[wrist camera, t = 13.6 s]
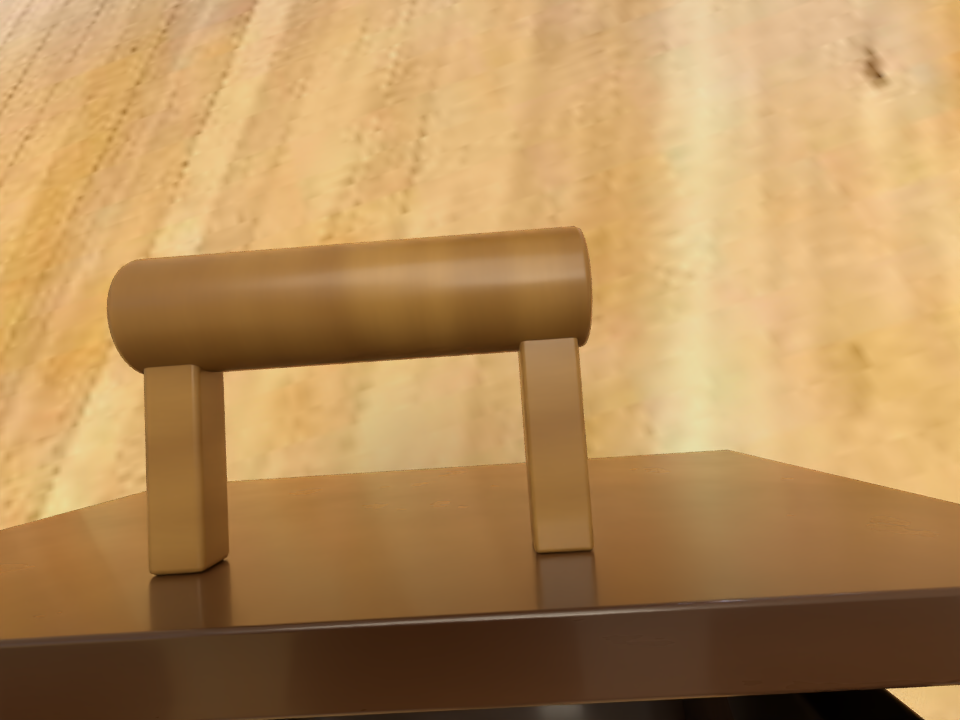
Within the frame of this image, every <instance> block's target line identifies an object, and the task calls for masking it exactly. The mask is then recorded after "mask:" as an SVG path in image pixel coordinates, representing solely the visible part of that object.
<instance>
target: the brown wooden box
mask: <svg viewBox="0 0 960 720" xmlns="http://www.w3.org/2000/svg"><path fill="white" fill-rule="evenodd" d="M267 720H734V718H733V715H732V712H731V709H730V705H729V702H728V699H727V697H708V698H688V699H668V700H648V701H628V702H608V703H588V704H568V705H548V706H528V707H508V708H488V709H468V710H448V711H427V712H407V713H387V714H367V715H347V716H327V717H307V718H287V719H267Z"/></svg>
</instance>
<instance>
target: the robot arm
mask: <svg viewBox="0 0 960 720" xmlns="http://www.w3.org/2000/svg"><path fill="white" fill-rule="evenodd" d="M727 699H728V702H729V705H730V709H731V712H732V715H733V718H734V720H924V719H923V718H922V717H920V716H919V715H918V714H917V713H915V712H914V711H913V710H912V709H910V708H909V707H908V706H907V705H905V704H904V703H903V702H901V701H900V700H899V699H898V698H896V697H895V696H894V695H893V694H891V693H890V692H889V691H888V690H886V689H868V690H848V691H828V692H808V693H788V694H768V695H748V696H728V697H727Z"/></svg>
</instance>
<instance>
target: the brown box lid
mask: <svg viewBox="0 0 960 720" xmlns="http://www.w3.org/2000/svg"><path fill="white" fill-rule="evenodd" d="M107 318H108V324H109V329H110V333H111V336H112V339H113V342H114V344H115V346H116V348H117V350H118V352H119V353H120V355H121V357H122V358H123V359H124V361H125V362H126V363H127V364H128V365H129V366H130V367H132V368H133V369H134V370H136V371H137V372H139V373H142V374H144V401H145V442H146V483H147V491H145V492H141V493H137V494H134V495H130V496H126V497H123V498H119V499H115V500H111V501H108V502H104V503H100V504H96V505H93V506H89V507H85V508H82V509H78V510H74V511H70V512H67V513H63V514H59V515H55V516H52V517H48V518H44V519H41V520H37V521H33V522H29V523H26V524H22V525H18V526H14V527H11V528H7V529H3V530H0V720H267V719H287V718H307V717H327V716H347V715H367V714H387V713H407V712H427V711H448V710H468V709H488V708H508V707H528V706H548V705H568V704H588V703H608V702H628V701H648V700H668V699H688V698H708V697H728V696H748V695H768V694H788V693H808V692H828V691H848V690H868V689H888V688H908V687H928V686H948V685H960V504H957V503H953V502H948V501H944V500H940V499H936V498H931V497H927V496H923V495H918V494H914V493H910V492H906V491H901V490H897V489H893V488H888V487H884V486H880V485H876V484H871V483H867V482H863V481H859V480H854V479H850V478H846V477H841V476H837V475H833V474H829V473H824V472H820V471H816V470H811V469H807V468H803V467H799V466H794V465H790V464H786V463H782V462H777V461H773V460H769V459H764V458H760V457H756V456H752V455H747V454H743V453H739V452H734V451H730V450H717V451H702V452H686V453H670V454H654V455H639V456H623V457H607V458H591V459H587V446H586V434H585V421H584V409H583V396H582V383H581V371H580V358H579V347H581V346H583V345H585V344H586V343H587V340H588V337H589V334H590V329H591V321H592V278H591V267H590V259H589V253H588V248H587V244H586V240H585V238H584V235H583V233H582V231H581V229H580V228H577V227H574V226H570V227H557V228H544V229H531V230H518V231H505V232H492V233H479V234H465V235H452V236H439V237H426V238H413V239H400V240H387V241H374V242H360V243H347V244H334V245H321V246H308V247H295V248H282V249H269V250H255V251H242V252H229V253H216V254H203V255H190V256H177V257H164V258H150V259H139V260H134V261H131V262H130V263H128V264H126V265H125V266H123V267H122V268H121V269H120V270H119V271H118V272H117V273H116V275H115V277H114V278H113V280H112V283H111V285H110V289H109V293H108V300H107ZM517 351H518V358H519V372H520V386H521V400H522V414H523V427H524V441H525V455H526V463H512V464H497V465H481V466H465V467H449V468H433V469H418V470H402V471H386V472H370V473H354V474H339V475H323V476H307V477H291V478H276V479H260V480H244V481H228V482H227V469H226V440H225V411H224V382H223V372H229V371H244V370H258V369H273V368H287V367H301V366H316V365H330V364H344V363H359V362H373V361H388V360H402V359H416V358H431V357H445V356H460V355H474V354H488V353H503V352H517Z"/></svg>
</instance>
